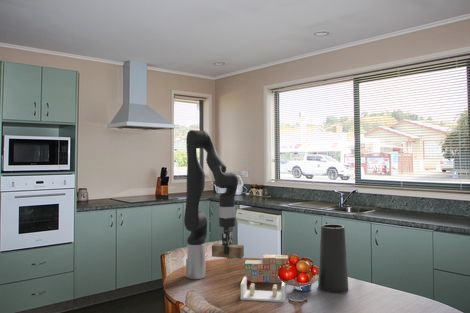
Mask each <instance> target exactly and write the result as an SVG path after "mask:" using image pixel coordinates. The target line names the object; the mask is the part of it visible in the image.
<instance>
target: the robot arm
mask: <svg viewBox="0 0 470 313" xmlns="http://www.w3.org/2000/svg"><path fill="white" fill-rule="evenodd" d="M185 140H186V142H185V143H186V157H187V158H186V159H187V160H186V161H187V164H186V165H187V169H186V170H187V171H186V194H185V195H186V196H185V197H186V198H185V199H186V202H185V210H184V216H183V217H184V218H183V221H184V222H183V223H184V224H183V225H184V227H185V229H186V230H187V231H189V232H190V233H189V236H188V237H187V239H186V240H187V246H186V247H187V248H186V250H187V252H186V256H187V257H186V260H185V271H186V272H185V275H186V276H185V277H186V278H187V279H191V280H200V279H203V278H206V239H207V236H208V233H207V232H208V220H207V215H206V214H205V213H204V212H203V211H201V210H200V211H199V206H200V201H201V199H202V196H203V193H204V191H205V188H206V187H205V184H206V182H205V181H206V180H205V179H206V174H205V171H204V168H203V167H202V165H201V163H200V161H199V159H198V155H197V154H198V153H197V149H202V150H204V151H205V152H206V165H207V166H208V168H209V169H210V171H211V173H212V174H213V179H214V183H215V185H216V186H217V187H218V188H220V189H226V191H225V192H223V193H221V194H220V195H219V197H218V198H219V199H218V200H219V207H218V208H219V209H218V221H219V222H218V223H219V224H218V227H220V228H223V230H222V233H221V241H222V242H221V244H222V245H223V246H224V254H225V255H228V254H229V244H230V245H232V243H233V235H234V227H235V226H236V207H235V205H236V203H235V200H236V199H235V198H236V194H237V190H238V185H239V178H238V174H236V173H235V172H226V171H227V166H226V164H225V162H224V161H223V160H222V158H221V157H220V155H219V153H218V152H217V150H216V147H215V145H214V143H213V141H212V138H211V136H210V135H209V133H208V132H207V131H205V130H197V129H192V130H191V129H190V130H189V131H188V132H187V134H186V138H185Z"/></svg>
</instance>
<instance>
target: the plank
mask: <svg viewBox="0 0 470 313" xmlns="http://www.w3.org/2000/svg"><path fill="white" fill-rule="evenodd" d="M244 248H245V247H244V245H241V244H240V245H239V244H231V245H230V244H229V254H228V255H225V254H224V246H223V245H222V243H214V244H212V245H211V257H213V258H225V259H227V258H228V259H237V260H238V259H239V260H240V259H241V260H242V258H244V256H245V254H244Z"/></svg>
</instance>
